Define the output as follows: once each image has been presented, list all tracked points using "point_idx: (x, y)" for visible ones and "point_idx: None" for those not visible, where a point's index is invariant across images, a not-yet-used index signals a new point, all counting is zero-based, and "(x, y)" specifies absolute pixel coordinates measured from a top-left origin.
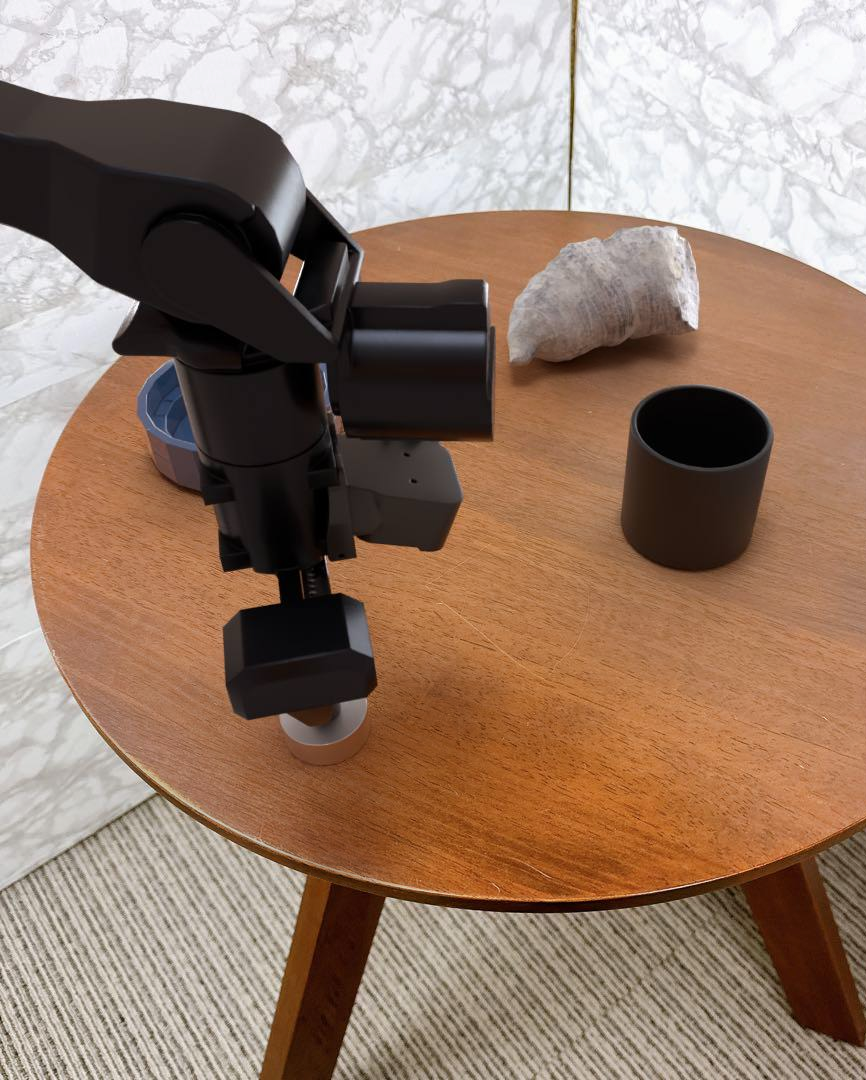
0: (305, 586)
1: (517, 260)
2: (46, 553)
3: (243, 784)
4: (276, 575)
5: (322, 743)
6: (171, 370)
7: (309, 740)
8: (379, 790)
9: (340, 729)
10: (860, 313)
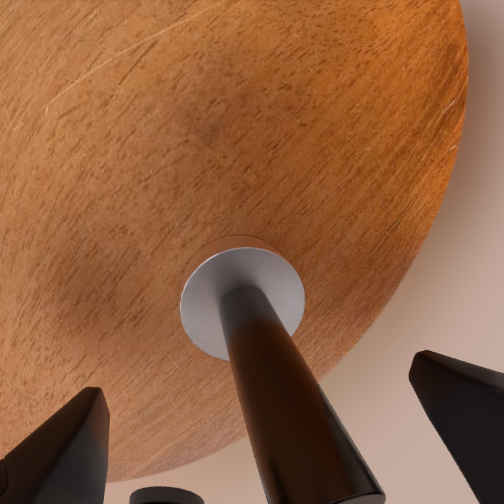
0: (98, 413)
1: None
2: None
3: None
4: (104, 482)
5: (302, 312)
6: None
7: (291, 327)
8: (340, 235)
9: (288, 288)
10: None
